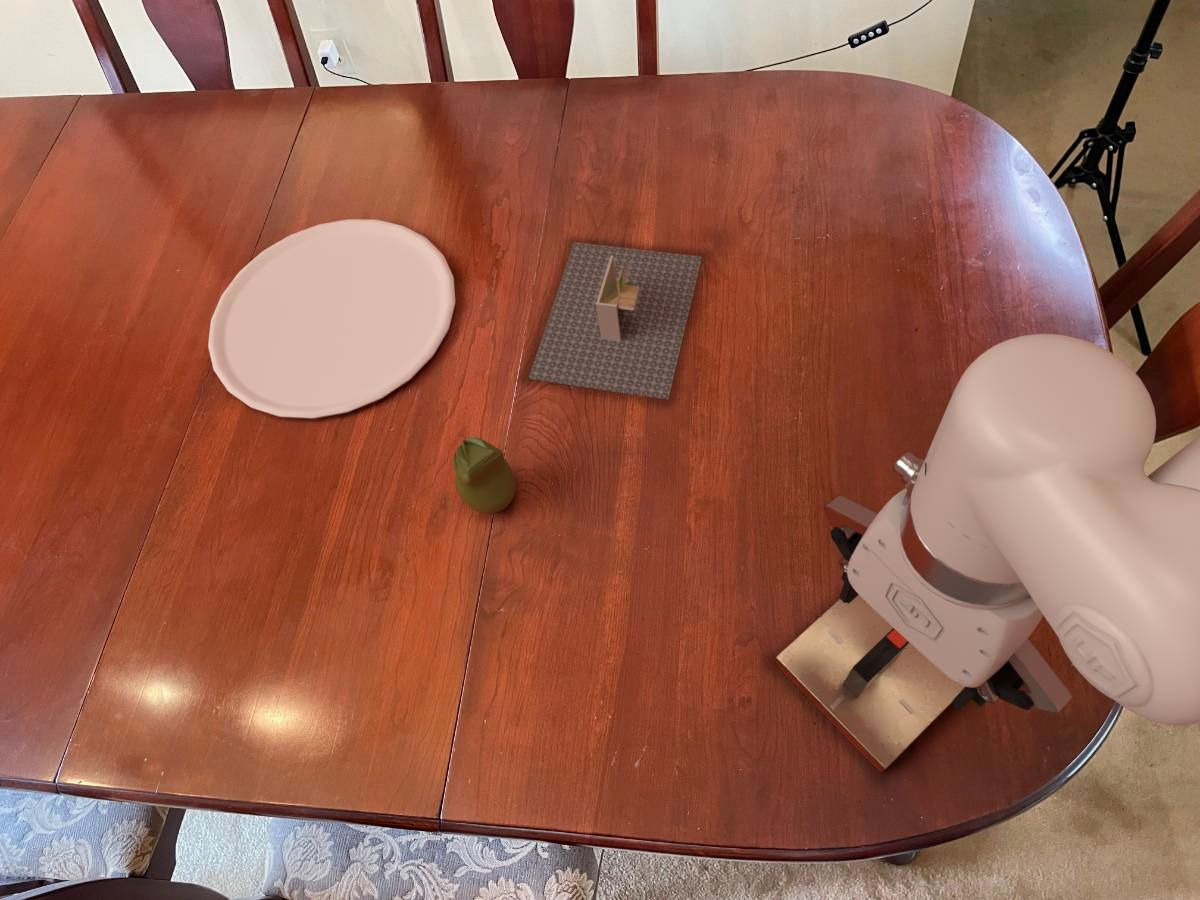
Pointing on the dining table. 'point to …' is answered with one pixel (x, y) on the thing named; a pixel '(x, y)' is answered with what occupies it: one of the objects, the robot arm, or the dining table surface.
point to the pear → (483, 476)
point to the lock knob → (875, 662)
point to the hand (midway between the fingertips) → (911, 638)
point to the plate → (332, 318)
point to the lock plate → (889, 703)
